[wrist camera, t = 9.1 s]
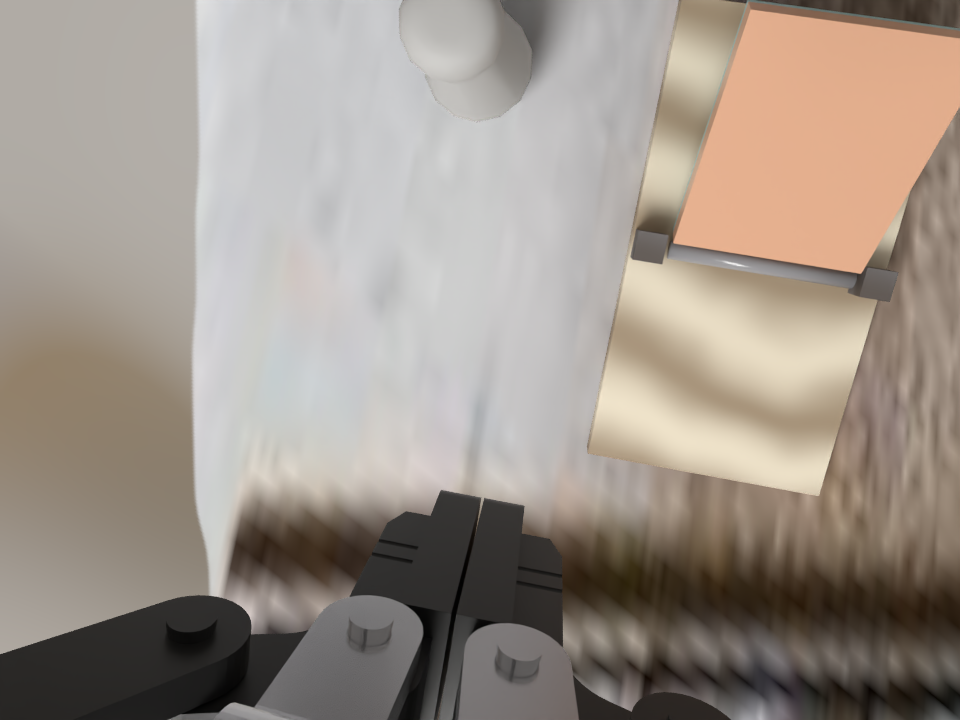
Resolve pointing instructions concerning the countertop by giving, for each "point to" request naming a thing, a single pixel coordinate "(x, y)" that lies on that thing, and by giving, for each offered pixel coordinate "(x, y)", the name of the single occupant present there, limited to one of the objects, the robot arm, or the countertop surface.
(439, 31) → the salt shaker
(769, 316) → the board
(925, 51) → the tile
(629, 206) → the countertop surface
